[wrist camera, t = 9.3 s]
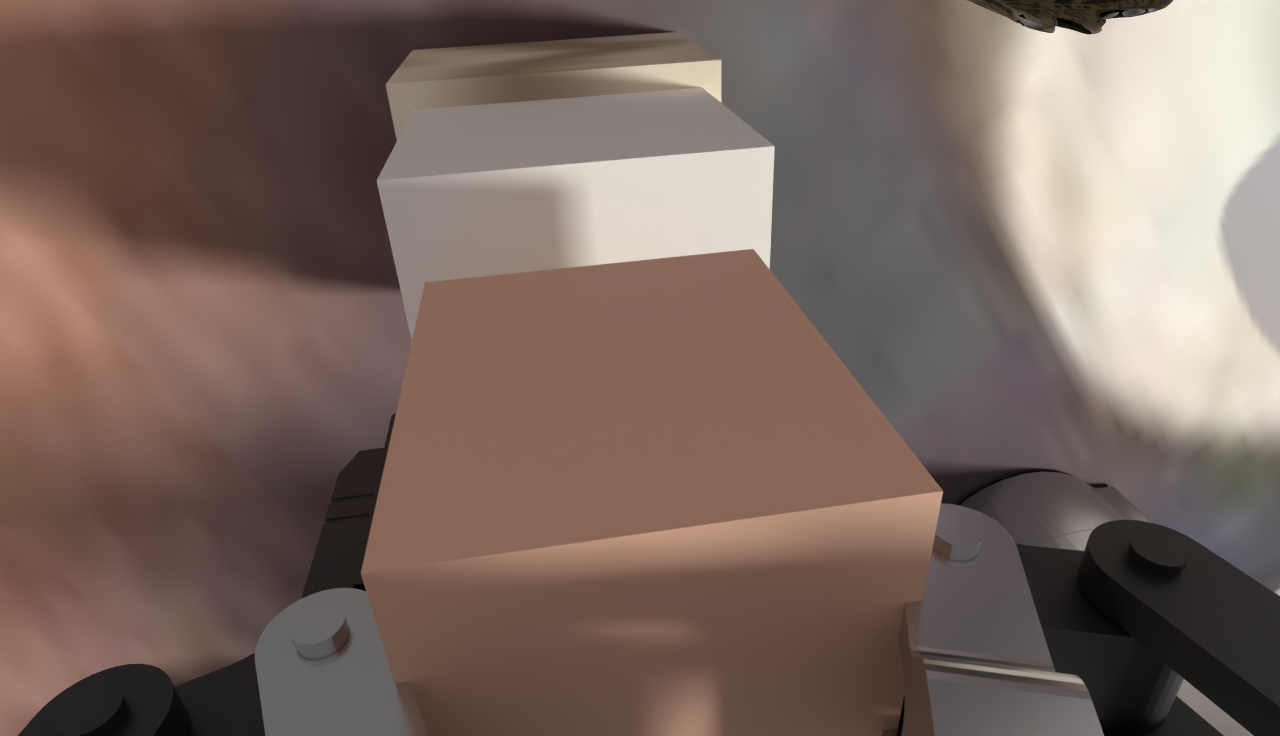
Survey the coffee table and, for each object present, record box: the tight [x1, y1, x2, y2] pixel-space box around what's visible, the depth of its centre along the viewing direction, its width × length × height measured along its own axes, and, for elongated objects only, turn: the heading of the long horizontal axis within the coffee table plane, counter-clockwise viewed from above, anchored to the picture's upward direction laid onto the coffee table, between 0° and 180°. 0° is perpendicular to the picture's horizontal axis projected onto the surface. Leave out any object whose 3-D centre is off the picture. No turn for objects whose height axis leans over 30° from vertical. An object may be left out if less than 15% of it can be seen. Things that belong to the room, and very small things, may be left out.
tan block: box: [361, 249, 943, 736], centre depth 10 cm, size 5×5×6 cm
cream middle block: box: [377, 88, 774, 339], centre depth 18 cm, size 7×7×6 cm
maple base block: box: [386, 32, 721, 140], centre depth 23 cm, size 8×8×6 cm
